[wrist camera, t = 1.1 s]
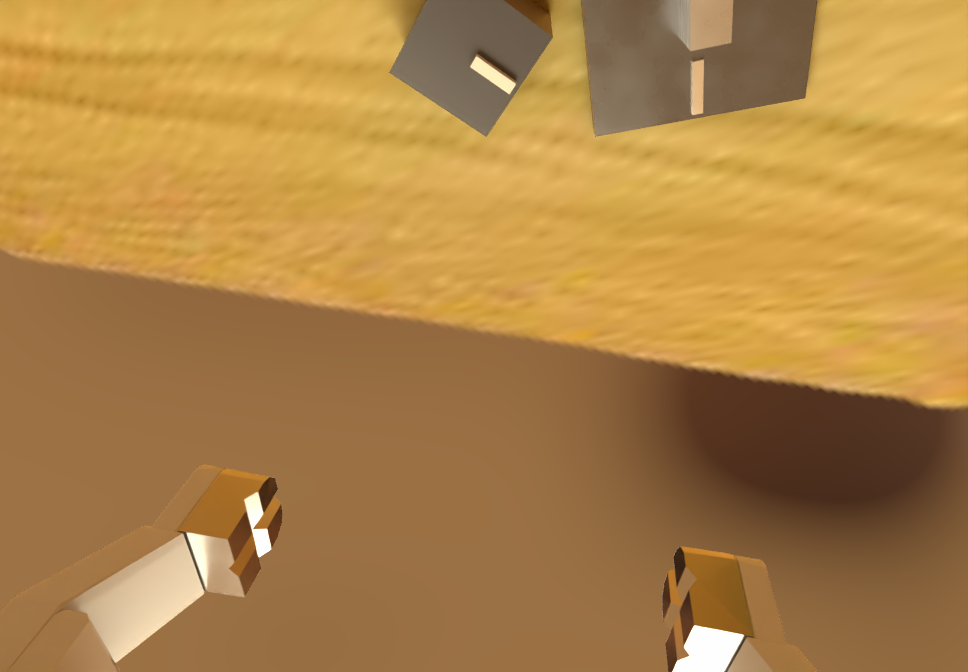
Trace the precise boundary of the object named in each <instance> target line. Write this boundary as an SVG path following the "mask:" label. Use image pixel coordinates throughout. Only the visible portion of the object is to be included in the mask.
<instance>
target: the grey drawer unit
mask: <svg viewBox="0 0 968 672" xmlns="http://www.w3.org/2000/svg"><path fill="white" fill-rule="evenodd" d="M552 37H553V35H552V27H551V18H550V14H549V13H547V12H546V11H545V10H544V9H542V8H541V7H540V6H538V5H537V4H536V3H534V2H533V1H532V0H426V2H425V4H424V6H423V8H422V10H421V12H420V14H419V16H418V18H417V20H416V22H415V24H414V26H413V28H412V30H411V32H410V33H409V35H408V37H407V39H406V41H405V43H404V45H403V47H402V49H401V51H400V53H399V55H398V57H397V59H396V61H395V63H394V65H393V67H392V69H391V70H390V72H389V73H391V74H392V75H394V76H395V77H397V78H398V79H400V80H401V81H403V82H404V83H406V84H407V85H409V86H410V87H412V88H413V89H415V90H416V91H418V92H419V93H421V94H422V95H424V96H426V97H427V98H429V99H430V100H432V101H433V102H435V103H436V104H438V105H439V106H441V107H442V108H444V109H445V110H447V111H448V112H450V113H451V114H453V115H454V116H456V117H457V118H459V119H460V120H462V121H463V122H465V123H466V124H468V125H469V126H471V127H472V128H474V129H475V130H477V131H478V132H480V133H481V134H483V135H484V136H486V137H487V135H488V134H489V132H490V131H491V129H492V128H493V126H494V125H495V123H496V122H497V120H498V119H499V117H500V116H501V114H502V113H503V111H504V110H505V108H506V107H507V105H508V104H509V102H510V101H511V99H512V98H513V96H514V95H515V93H516V92H517V90H518V89H519V87H520V86H521V84H522V83H523V81H524V80H525V78H526V77H527V75H528V74H529V72H530V71H531V69H532V68H533V66H534V65H535V63H536V62H537V60H538V59H539V57H540V56H541V54H542V53H543V51H544V50H545V48H546V47H547V45H548V44H549V42H550V41H551V39H552Z"/></svg>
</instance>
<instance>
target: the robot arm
mask: <svg viewBox="0 0 968 672" xmlns="http://www.w3.org/2000/svg"><path fill="white" fill-rule="evenodd" d="M277 490H278V487H277V484H276V479H275V478H272V477H267V476H262V475H257V474H252V473H247V472H242V471H237V470H232V469H228V468H222V467H216V466H211V465H205V464H203V465H202V466H200V467H198V468H197V469H196V470H195V471H194V472H193V473H192V475H191V476H190V477H189V478H188V480H187V481H186V482H185V483H184V485H183V486H182V487H181V489H180V490H179V491H178V492H177V494H176V495H175V496H174V498H173V499H172V500H171V501H170V503H169V504H168V505H167V507H166V508H165V509H164V511H163V512H162V513H161V514H160V515H159V517H158V518H157V519H156V521H155V522H154V523H153V525H152V526H151V527H149V526H143V527H141V528H139V529H137V530H135V531H133V532H132V533H130V534H128V535H126V536H124V537H122V538H121V539H119V540H117V541H115V542H113V543H111V544H110V545H108V546H106V547H104V548H103V549H100V550H99V551H97V552H95V553H93V554H91V555H89V556H88V557H86V558H84V559H82V560H80V561H79V562H77V563H75V564H73V565H71V566H69V567H67V568H66V569H64V570H62V571H60V572H58V573H56V574H55V575H53V576H51V577H49V578H47V579H46V580H44V581H42V582H40V583H38V584H37V585H35V586H33V587H31V588H29V589H27V590H25V591H24V592H22V593H20V594H18V595H16V596H15V597H14V598H13V599H12V600H11V601H10V602H9V603H8V604H7V605H6V606H5V608H4V609H3V610H2V611H1V612H0V672H120V670H119V669H118V667H117V665H116V662H117V661H119V660H120V659H121V658H123V657H124V656H125V655H126V654H127V653H129V652H130V651H131V650H133V649H134V648H135V647H137V646H138V645H139V644H140V643H142V642H143V641H144V640H145V639H147V638H148V637H149V636H151V635H152V634H153V633H154V632H156V631H157V630H158V629H159V628H161V627H162V626H163V625H165V624H166V623H167V622H168V621H170V620H171V619H172V618H173V617H175V616H176V615H177V614H179V613H180V612H181V611H182V610H184V609H185V608H186V607H187V606H189V605H190V604H191V603H192V602H194V601H195V600H196V599H198V598H199V597H200V596H201V595H203V594H204V591H209V592H216V593H221V594H227V595H234V596H241V597H245V596H246V594H247V592H248V591H249V588H250V587H251V585H252V583H253V582H254V580H255V578H256V576H257V574H258V573H259V571H260V569H261V566H260V561H259V557H260V556H261V555H263V554H264V553H266V552H268V551H269V550H271V549H272V547H273V545H274V543H275V541H276V539H277V537H278V534H279V531H280V527H281V524H282V507H281V503H280V502H279V501H278V500H277V499H276V498H275V497H274V495H275V493H276V492H277ZM673 559H674V569H672V570H671V571H669V572H668V573H667V576H666V579H665V582H664V589H663V595H662V611H663V622H664V623H665V624H666V626H667V627H668V629H669V630H670V631H671V632H670V634H669V637H668V639H667V642H666V655H667V665H668V672H818V671H817V670H816V669H815V668H814V667H813V665H812V664H811V663H810V662H809V661H808V660H807V658H805V656H804V655H803V654H802V653H801V652H800V650H799V649H798V648H797V647H796V646H793V645H789V644H787V642H786V638H785V634H784V631H783V627H782V623H781V620H780V616H779V612H778V608H777V605H776V602H775V598H774V594H773V590H772V587H771V583H770V580H769V576H768V572H767V568H766V565H765V564H764V563H763V561H762V560H759V559H753V558H747V557H741V556H735V555H732V554H727V553H720V552H714V551H707V550H701V549H695V548H688V547H682V546H680V547H679V548H678V549H677V550H676V552H675V555H674V557H673Z"/></svg>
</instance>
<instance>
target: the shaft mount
mask: <svg viewBox="0 0 968 672" xmlns="http://www.w3.org/2000/svg"><path fill="white" fill-rule="evenodd" d="M816 5H817V0H581V6H582V16H583V26H584V36H585V46H586V56H587V66H588V76H589V86H590V97H591V107H592V117H593V127H594V134H595V137H596V136H602V135H607V134H613V133H618V132H624V131H629V130H635V129H640V128H645V127H651V126H656V125H662V124H667V123H673V122H678V121H684V120H689V119H694V118H700V117H705V116H711V115H716V114H722V113H727V112H733V111H738V110H743V109H749V108H754V107H760V106H765V105H771V104H776V103H782V102H787V101H792V100H798V99H803V98H805V96H806V87H807V79H808V71H809V63H810V55H811V46H812V38H813V30H814V22H815V13H816Z"/></svg>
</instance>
